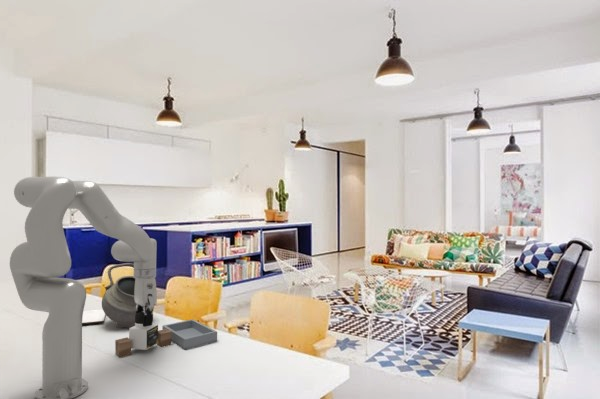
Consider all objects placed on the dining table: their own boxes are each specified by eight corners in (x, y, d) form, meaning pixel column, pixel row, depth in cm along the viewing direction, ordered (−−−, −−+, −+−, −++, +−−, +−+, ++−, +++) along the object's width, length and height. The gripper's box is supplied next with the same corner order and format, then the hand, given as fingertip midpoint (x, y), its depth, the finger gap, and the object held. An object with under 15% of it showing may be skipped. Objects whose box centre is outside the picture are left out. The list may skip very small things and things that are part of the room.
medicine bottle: (146, 350, 139) (147, 315, 139) (128, 348, 140) (129, 314, 140) (158, 343, 146) (158, 310, 146) (140, 341, 147) (141, 309, 147)
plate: (103, 325, 171) (103, 320, 171) (52, 330, 164) (52, 325, 164) (106, 313, 188) (106, 308, 188) (61, 317, 181) (61, 312, 181)
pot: (104, 319, 178) (104, 263, 178) (153, 314, 185) (154, 260, 185) (98, 334, 158) (99, 271, 158) (154, 328, 166) (154, 268, 166)
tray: (217, 341, 152) (217, 331, 152) (184, 350, 143) (184, 339, 143) (193, 328, 167) (193, 319, 167) (162, 335, 158) (162, 325, 158)
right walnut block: (171, 344, 148) (171, 331, 148) (160, 347, 145) (160, 333, 145) (167, 341, 151) (167, 328, 151) (156, 344, 148) (156, 330, 148)
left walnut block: (131, 354, 138) (131, 340, 138) (119, 357, 136) (119, 343, 136) (127, 351, 141) (127, 337, 141) (115, 354, 139) (115, 340, 139)
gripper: (164, 275, 139) (164, 327, 139) (146, 268, 152) (145, 316, 152) (143, 277, 134) (142, 331, 134) (126, 270, 147) (125, 320, 147)
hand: (144, 323), depth 143 cm, fingers closed on medicine bottle, 6 cm apart
